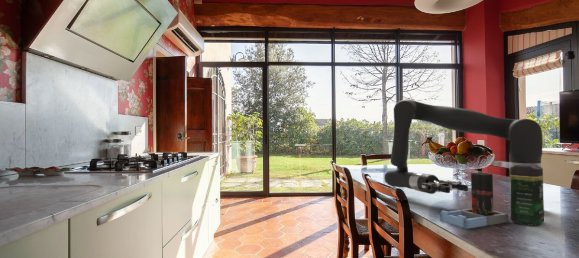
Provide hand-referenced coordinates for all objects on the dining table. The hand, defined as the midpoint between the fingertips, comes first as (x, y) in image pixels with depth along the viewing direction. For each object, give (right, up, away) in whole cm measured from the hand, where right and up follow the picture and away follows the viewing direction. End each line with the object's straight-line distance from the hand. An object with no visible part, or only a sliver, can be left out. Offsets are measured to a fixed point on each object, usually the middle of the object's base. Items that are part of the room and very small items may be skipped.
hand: (458, 189), depth 106 cm
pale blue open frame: (-1, -8, -10) cm, 13 cm away
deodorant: (+3, -8, -9) cm, 12 cm away
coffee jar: (+15, -8, -12) cm, 21 cm away
